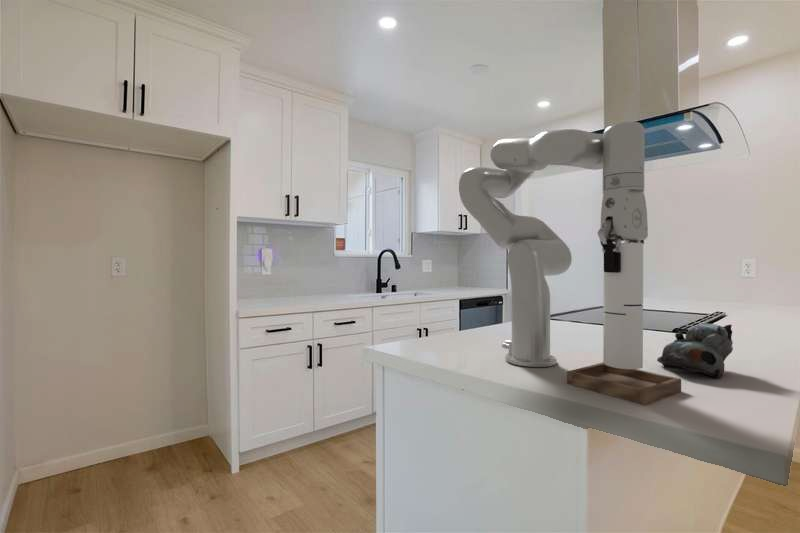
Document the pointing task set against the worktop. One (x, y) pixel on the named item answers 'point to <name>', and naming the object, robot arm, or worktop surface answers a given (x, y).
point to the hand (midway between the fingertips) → (622, 271)
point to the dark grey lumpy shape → (700, 349)
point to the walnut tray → (625, 383)
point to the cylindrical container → (624, 311)
